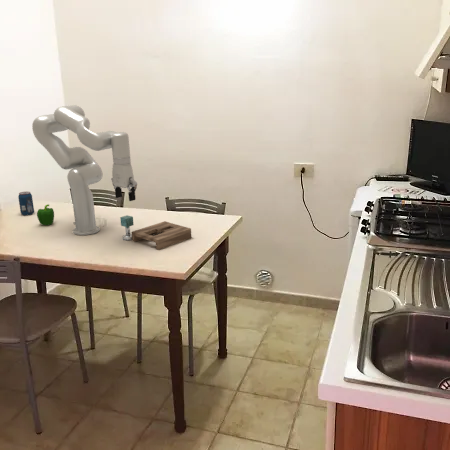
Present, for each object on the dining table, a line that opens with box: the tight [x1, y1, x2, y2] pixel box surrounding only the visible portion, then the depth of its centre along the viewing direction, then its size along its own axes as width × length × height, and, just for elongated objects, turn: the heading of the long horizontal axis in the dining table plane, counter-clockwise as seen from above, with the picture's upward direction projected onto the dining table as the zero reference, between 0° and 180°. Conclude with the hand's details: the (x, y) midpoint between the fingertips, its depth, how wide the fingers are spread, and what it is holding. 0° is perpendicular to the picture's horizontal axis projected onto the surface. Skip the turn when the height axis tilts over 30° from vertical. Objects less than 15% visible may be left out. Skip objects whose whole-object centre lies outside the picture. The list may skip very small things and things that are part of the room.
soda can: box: [17, 191, 35, 217], centre depth 274 cm, size 7×7×12 cm
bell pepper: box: [36, 203, 55, 226], centre depth 255 cm, size 8×8×10 cm
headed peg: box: [119, 214, 134, 242], centre depth 231 cm, size 5×5×10 cm
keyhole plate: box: [130, 221, 192, 251], centre depth 230 cm, size 18×20×4 cm
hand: (125, 198), depth 227 cm, fingers open, 9 cm apart
